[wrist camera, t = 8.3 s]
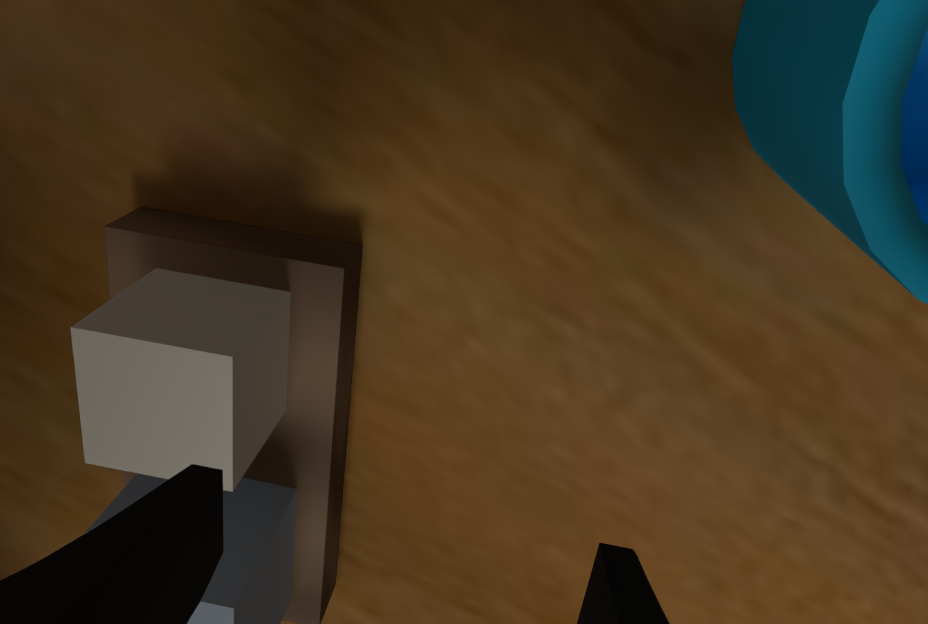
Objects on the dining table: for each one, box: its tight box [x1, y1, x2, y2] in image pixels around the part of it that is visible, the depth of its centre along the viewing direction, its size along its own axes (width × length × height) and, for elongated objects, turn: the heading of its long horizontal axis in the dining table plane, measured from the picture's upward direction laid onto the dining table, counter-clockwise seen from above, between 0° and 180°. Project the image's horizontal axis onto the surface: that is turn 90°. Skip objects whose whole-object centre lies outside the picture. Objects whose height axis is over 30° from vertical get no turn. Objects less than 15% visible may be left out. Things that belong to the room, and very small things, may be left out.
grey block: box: [70, 268, 291, 492], centre depth 20 cm, size 4×4×4 cm
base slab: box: [104, 207, 362, 624], centre depth 24 cm, size 14×7×2 cm, turn 172°
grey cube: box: [85, 473, 297, 624], centre depth 22 cm, size 5×5×5 cm
